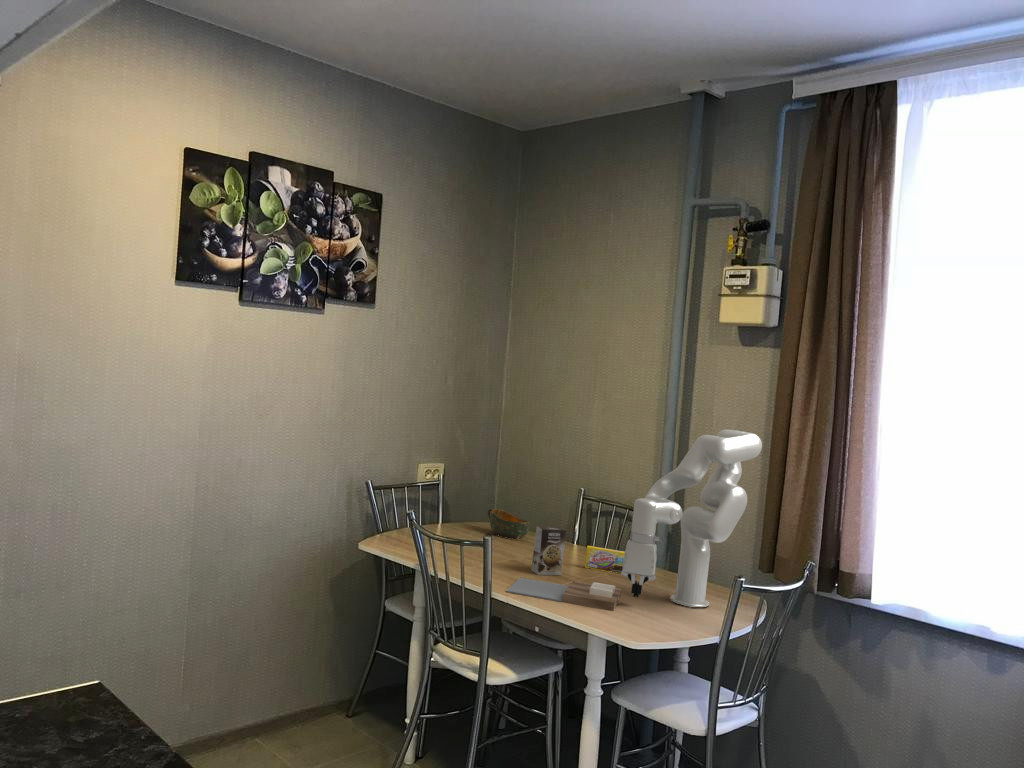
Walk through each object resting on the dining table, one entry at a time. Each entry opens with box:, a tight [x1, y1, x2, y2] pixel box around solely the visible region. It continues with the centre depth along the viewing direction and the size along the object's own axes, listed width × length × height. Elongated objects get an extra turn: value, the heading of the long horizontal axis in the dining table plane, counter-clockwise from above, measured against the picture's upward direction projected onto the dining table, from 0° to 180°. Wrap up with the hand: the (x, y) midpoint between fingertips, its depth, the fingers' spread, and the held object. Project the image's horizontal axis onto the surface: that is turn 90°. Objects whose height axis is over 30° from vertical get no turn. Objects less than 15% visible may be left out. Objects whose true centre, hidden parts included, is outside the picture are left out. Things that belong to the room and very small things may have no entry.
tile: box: [589, 581, 616, 598], centre depth 265 cm, size 8×7×2 cm
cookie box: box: [530, 525, 567, 576], centre depth 294 cm, size 9×6×16 cm
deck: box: [561, 580, 622, 611], centre depth 266 cm, size 18×16×2 cm
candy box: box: [584, 545, 625, 574], centre depth 307 cm, size 16×2×8 cm, turn 76°
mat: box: [505, 577, 570, 603], centre depth 270 cm, size 19×18×1 cm
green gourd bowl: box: [487, 507, 531, 540], centre depth 351 cm, size 13×20×10 cm, turn 24°
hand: (635, 596), depth 262 cm, fingers closed
